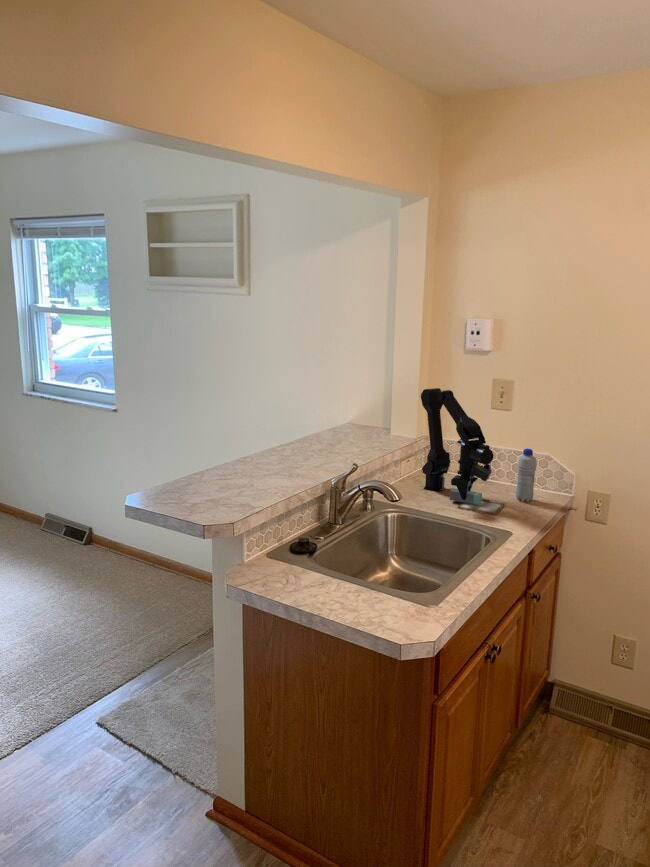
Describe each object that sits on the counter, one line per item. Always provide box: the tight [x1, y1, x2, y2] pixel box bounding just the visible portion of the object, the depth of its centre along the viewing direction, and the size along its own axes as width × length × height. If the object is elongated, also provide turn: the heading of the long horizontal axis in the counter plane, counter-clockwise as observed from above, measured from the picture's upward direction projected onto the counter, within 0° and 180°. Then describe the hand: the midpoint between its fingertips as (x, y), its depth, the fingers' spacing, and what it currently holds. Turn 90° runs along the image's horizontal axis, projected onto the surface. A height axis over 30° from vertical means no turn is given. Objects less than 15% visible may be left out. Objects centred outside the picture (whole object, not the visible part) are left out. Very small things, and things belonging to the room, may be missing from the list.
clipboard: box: [457, 498, 506, 516], centre depth 243 cm, size 14×12×1 cm
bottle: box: [515, 448, 537, 503], centre depth 247 cm, size 7×7×20 cm
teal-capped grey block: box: [449, 488, 483, 505], centre depth 245 cm, size 11×4×4 cm, turn 61°
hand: (465, 498), depth 245 cm, fingers closed on teal-capped grey block, 3 cm apart
